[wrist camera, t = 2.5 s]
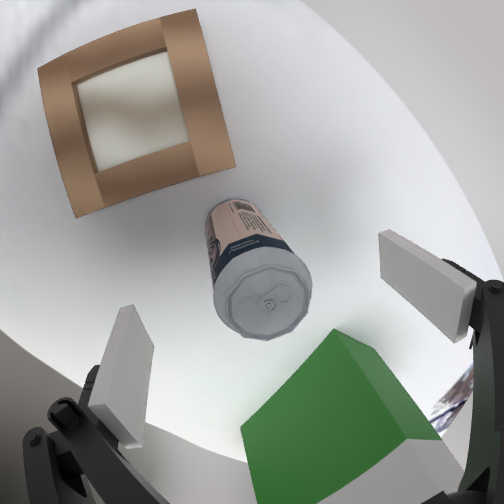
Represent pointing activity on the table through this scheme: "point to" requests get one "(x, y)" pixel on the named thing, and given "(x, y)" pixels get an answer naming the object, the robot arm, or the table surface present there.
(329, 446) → the hardback book
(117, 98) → the picture frame
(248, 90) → the table surface
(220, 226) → the beer can
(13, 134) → the table surface
